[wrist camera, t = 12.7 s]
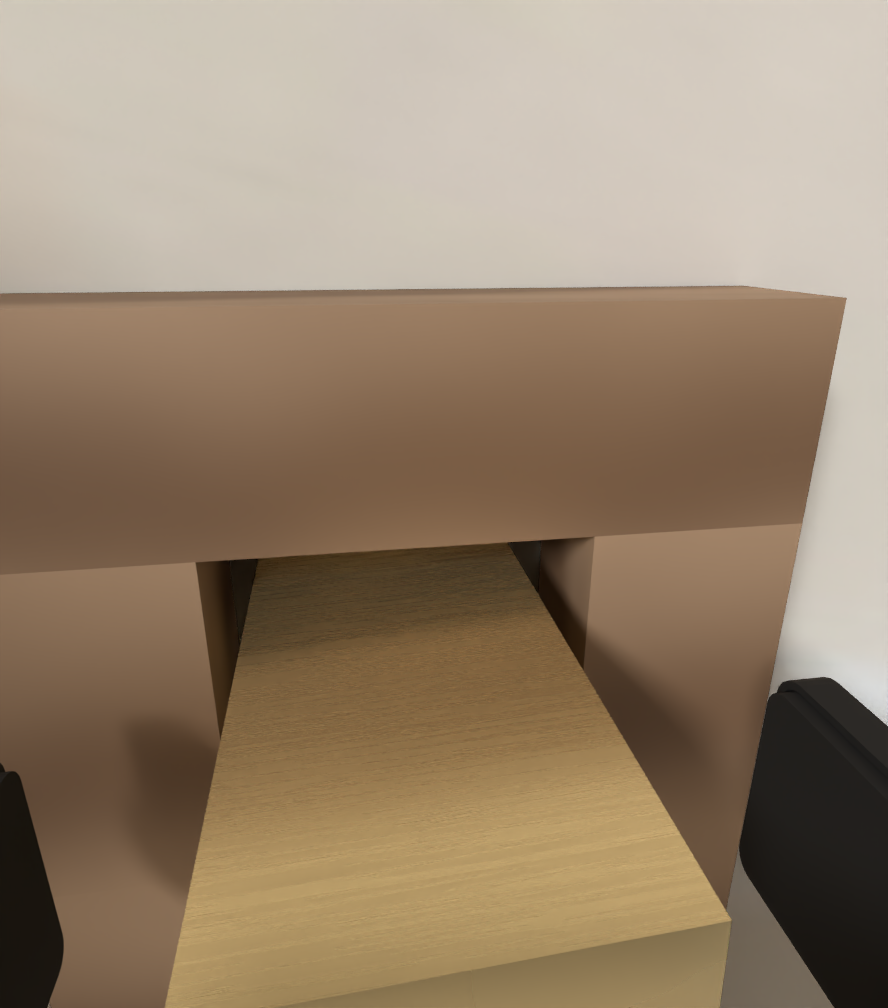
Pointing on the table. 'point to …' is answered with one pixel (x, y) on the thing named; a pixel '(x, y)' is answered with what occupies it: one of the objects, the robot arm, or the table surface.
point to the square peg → (432, 808)
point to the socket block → (379, 534)
